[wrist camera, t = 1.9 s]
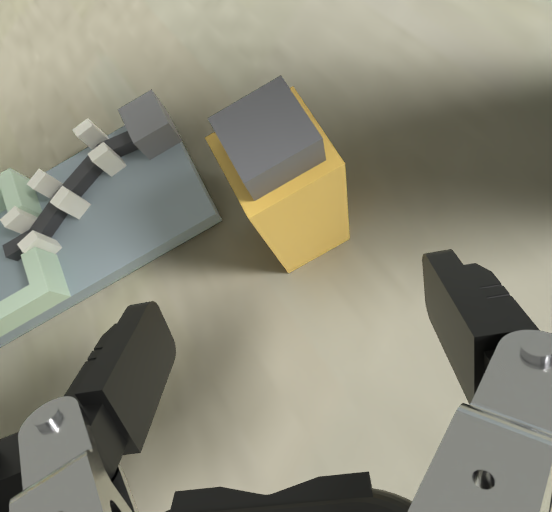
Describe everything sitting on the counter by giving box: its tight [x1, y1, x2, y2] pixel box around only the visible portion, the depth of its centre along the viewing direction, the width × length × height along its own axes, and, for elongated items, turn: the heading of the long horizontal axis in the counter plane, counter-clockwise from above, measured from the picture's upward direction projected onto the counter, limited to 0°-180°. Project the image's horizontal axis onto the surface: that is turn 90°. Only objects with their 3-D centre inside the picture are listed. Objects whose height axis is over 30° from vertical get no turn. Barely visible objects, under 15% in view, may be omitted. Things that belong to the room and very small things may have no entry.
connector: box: [205, 76, 350, 273], centre depth 19 cm, size 4×4×10 cm
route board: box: [0, 89, 222, 348], centre depth 25 cm, size 19×9×3 cm, turn 118°
